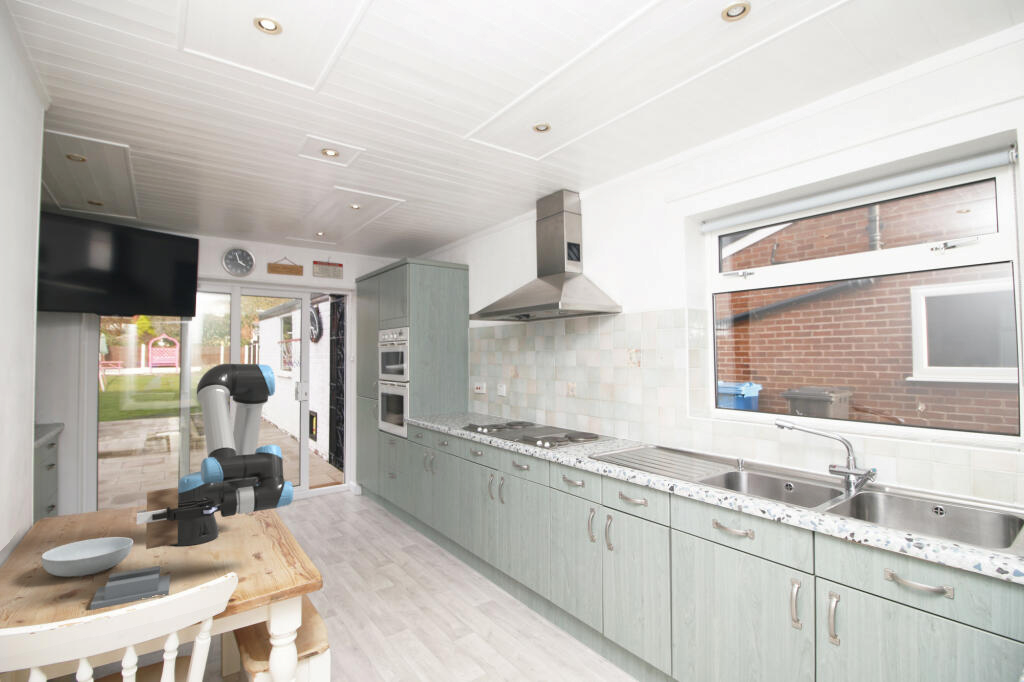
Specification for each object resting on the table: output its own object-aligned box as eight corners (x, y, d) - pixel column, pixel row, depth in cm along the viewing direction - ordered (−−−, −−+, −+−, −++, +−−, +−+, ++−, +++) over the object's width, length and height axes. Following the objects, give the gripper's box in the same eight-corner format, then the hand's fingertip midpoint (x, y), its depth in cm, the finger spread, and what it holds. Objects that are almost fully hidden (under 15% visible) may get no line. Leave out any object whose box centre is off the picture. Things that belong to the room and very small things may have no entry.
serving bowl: (148, 557, 156) (149, 536, 156) (94, 585, 135) (96, 560, 135) (81, 557, 155) (83, 535, 156) (17, 586, 134) (19, 560, 135)
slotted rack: (170, 578, 140) (171, 562, 140) (168, 594, 130) (169, 576, 130) (97, 591, 131) (99, 574, 131) (90, 609, 121) (91, 590, 121)
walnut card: (177, 540, 137) (177, 487, 138) (177, 543, 135) (178, 488, 136) (146, 546, 133) (147, 491, 133) (146, 549, 131) (146, 493, 131)
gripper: (239, 521, 138) (135, 539, 125) (233, 508, 151) (137, 524, 137) (239, 494, 139) (136, 510, 125) (233, 484, 151) (138, 497, 137)
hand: (137, 517), depth 131 cm, fingers closed on walnut card, 2 cm apart
